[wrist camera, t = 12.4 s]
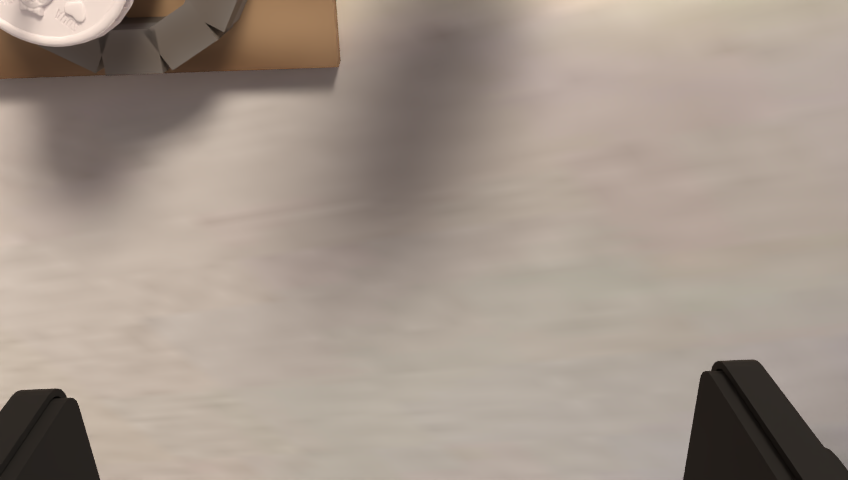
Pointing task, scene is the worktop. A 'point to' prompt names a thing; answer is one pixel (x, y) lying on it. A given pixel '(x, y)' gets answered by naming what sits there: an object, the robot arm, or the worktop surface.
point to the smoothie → (61, 20)
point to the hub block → (190, 40)
